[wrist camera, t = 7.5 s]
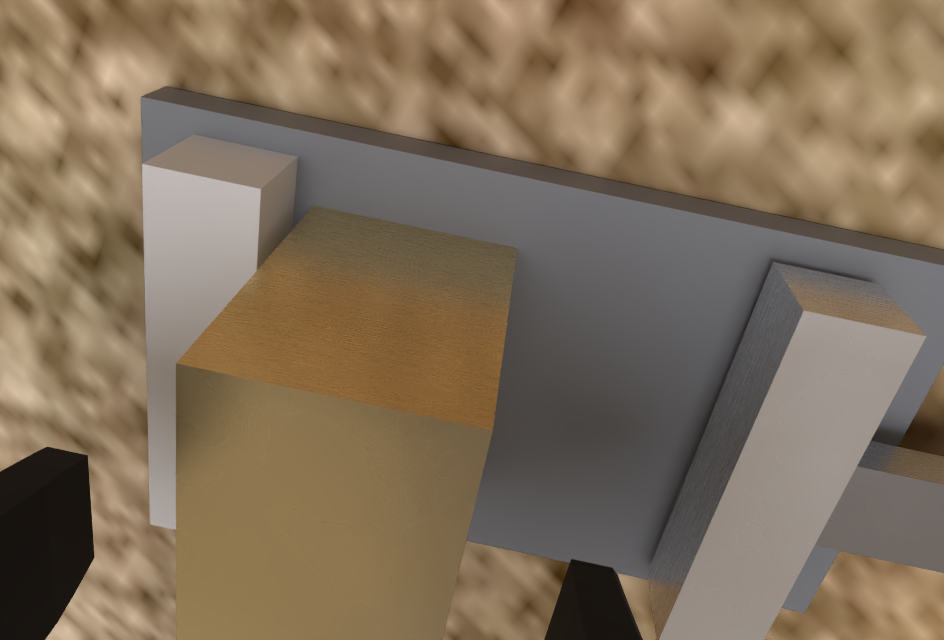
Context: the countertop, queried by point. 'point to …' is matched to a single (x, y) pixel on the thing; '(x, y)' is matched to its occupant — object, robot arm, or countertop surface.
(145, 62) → the countertop surface
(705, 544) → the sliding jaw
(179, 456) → the brass block
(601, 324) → the vise base
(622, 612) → the robot arm
